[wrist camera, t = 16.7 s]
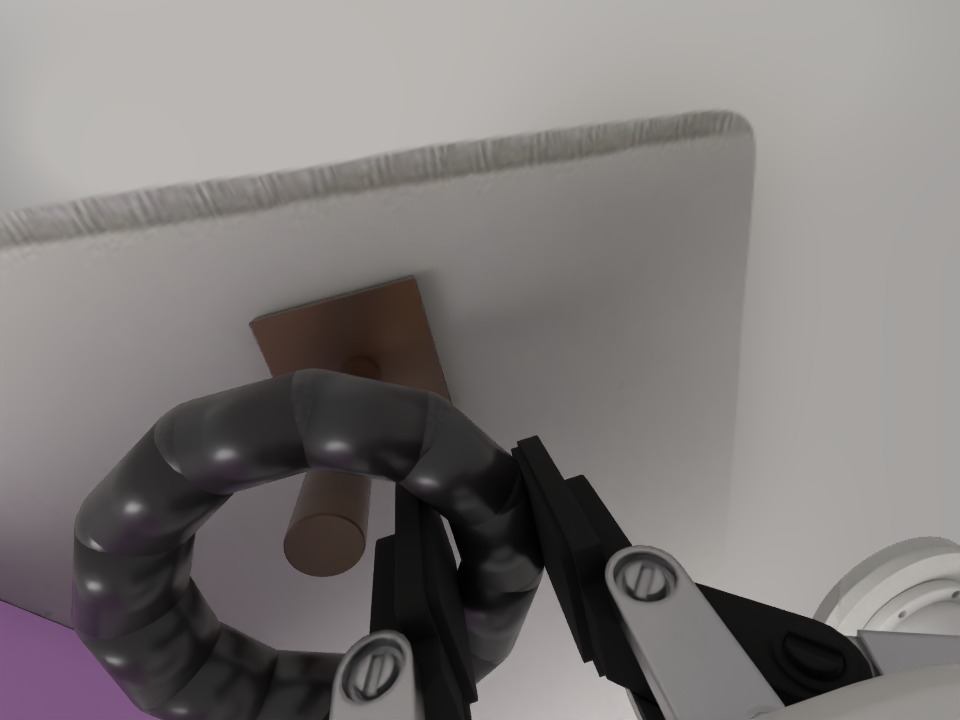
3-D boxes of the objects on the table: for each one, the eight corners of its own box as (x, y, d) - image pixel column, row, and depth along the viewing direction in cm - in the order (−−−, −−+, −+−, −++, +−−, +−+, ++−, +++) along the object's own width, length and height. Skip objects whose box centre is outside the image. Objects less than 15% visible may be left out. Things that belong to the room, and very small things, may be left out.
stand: (413, 274, 22) (435, 360, 10) (454, 412, 25) (508, 606, 13) (254, 318, 21) (72, 464, 9) (314, 453, 24) (234, 699, 12)
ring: (480, 309, 10) (497, 333, 8) (555, 620, 13) (580, 687, 12) (14, 437, 9) (-86, 497, 7) (226, 729, 13) (196, 820, 11)
